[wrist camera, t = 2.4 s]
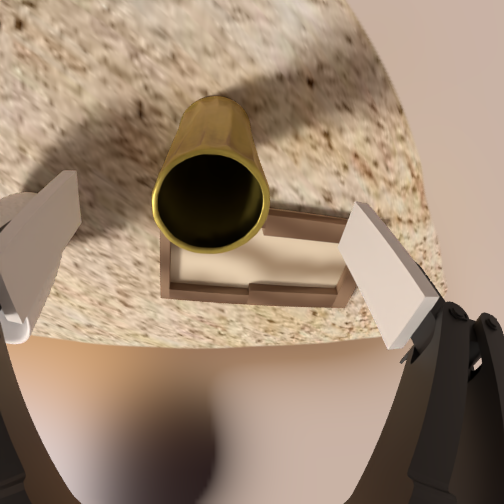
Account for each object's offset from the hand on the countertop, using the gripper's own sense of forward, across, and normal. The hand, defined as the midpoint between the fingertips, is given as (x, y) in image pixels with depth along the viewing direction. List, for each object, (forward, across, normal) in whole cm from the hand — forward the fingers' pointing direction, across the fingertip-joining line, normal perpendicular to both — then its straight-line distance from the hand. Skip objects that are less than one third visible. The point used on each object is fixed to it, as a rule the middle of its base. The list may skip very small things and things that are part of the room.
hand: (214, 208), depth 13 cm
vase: (+14, 0, 0) cm, 14 cm away
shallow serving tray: (+14, +7, -13) cm, 20 cm away
